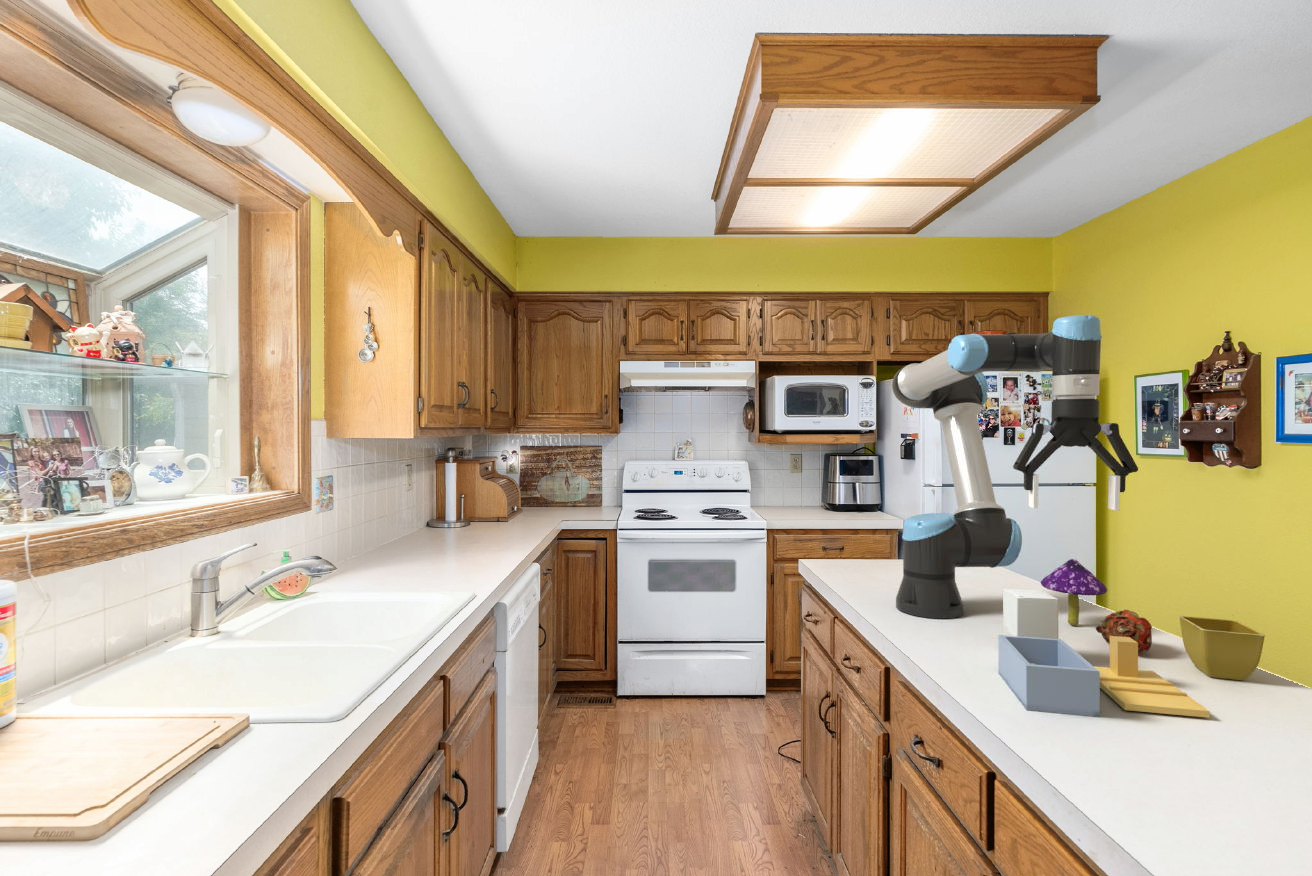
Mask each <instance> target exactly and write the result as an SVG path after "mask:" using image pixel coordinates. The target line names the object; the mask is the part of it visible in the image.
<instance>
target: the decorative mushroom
mask: <svg viewBox="0 0 1312 876" xmlns="http://www.w3.org/2000/svg"><path fill="white" fill-rule="evenodd" d="M1040 584H1041V586H1042V587H1043V588H1045V589H1047V590H1051V591H1053V592H1058V593H1063V594H1067V599H1068V600H1067V602H1068V614H1067V623H1068V624H1069V625H1070V626H1074V627H1075V626H1076V627H1077V626H1078V625H1079V623H1080V622H1079V621H1080V620H1079V619H1080V618H1079V617H1080V599H1079V596H1100V595H1101V596H1102V595H1104V594H1106V593H1107V592H1108V588H1107V587H1106V585H1105V584H1104V583H1103V582H1102V581H1100V580H1099V579H1098V578H1097V577H1096V576H1095V575H1094V574H1093V573H1092V572H1091V571H1090V570H1089V569H1088V568H1086V567H1085V566H1083V564H1082V563H1080V561H1078V560H1077V559H1075V558H1074V559H1073V558H1070V559H1068V560H1067V561H1065V562H1064V563H1063V564H1061V565H1060V566H1059V567H1057V568H1055V569H1054V570H1053V571H1052V572H1051V573H1050V574H1048V575H1046V576H1044V577H1043V579H1042V580H1041V581H1040Z"/></svg>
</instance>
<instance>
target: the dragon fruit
mask: <svg viewBox="0 0 1312 876" xmlns="http://www.w3.org/2000/svg"><path fill="white" fill-rule="evenodd" d="M1100 622H1101V623H1100V624H1098V625H1096V627H1095V630H1096V632H1098V634H1101V636H1102V638H1103V640H1104V641H1105V642H1106V643H1107V644H1108V645H1109V646H1110V636H1119V637H1130V638H1131V639H1133V640H1134V641H1136V642H1137V643H1138V651H1140V652H1144V651H1145V652H1148V651H1149V650H1150V649H1151V646H1152V643H1153V642H1152V641H1153V639H1152V638H1153V637H1152V636H1153V634H1152V628H1153V626H1152V624H1151V623H1150V621H1148V619H1146V618H1145V617H1141V616H1139V614H1138V613H1137V612H1135V611H1132V610H1129V609H1123V610H1117V611H1115V612H1112V613H1110V614H1108V615H1106V616H1105V618H1104V619H1103V620H1102V621H1100Z"/></svg>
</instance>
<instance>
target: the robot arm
mask: <svg viewBox="0 0 1312 876" xmlns="http://www.w3.org/2000/svg"><path fill="white" fill-rule="evenodd" d="M1052 325H1053V326H1052V330H1051V332H1044V333H1014V334H1013V333H1012V334H1011V333H1009V334H1008V333H1007V334H1006V333H1004V334H1002V333H999V334H998V333H997V334H995V333H994V334H989V333H987V334H986V333H985V334H983V333H981V334H979V333H978V334H977V333H969V334H960V335H956V336H954V338H952V339H951V342H950V343H949V344H948V347H947V349H946V350H944V351H941V353H939V354H936V355H934V356H933V357H931V358H928V359H926V360H924V361H922V362H920V363H918V362H917V363H910V364H908V365H905V366H903V367H902V368H901V369H898V371H897V372H896V373H895V375H894V376H893V379H892V383H891V388H892V392H893V394H894V397H896V399H897V400H898V401H899V402H900V403H902V404H904V405H905V406H908V407H910V408H913V409H932V411H933V416H934V418H935V419H936V420H938V421H939V422H941V426H942V431H943V436H944V443H945V445H946V452H947V456H948V462H949V463H948V464H949V467H950V473H951V477H952V482H953V488H954V493H955V497H956V504H957V509H956V510H955V511H954V513H948V512H947V513H946V512H931V513H921V514H915V515H913V516H910V517H907V518H906V519H905V520H904V522H903V528H902V529H903V530H902V535H901V538H902V562H903V564H902V565H903V566H902V568H903V569H902V570H903V571H902V572H903V573H902V575H903V576H902V580H901V582H900V585H899V587H898V590H897V594H896V597H895V608H896V609H897V610H898V611H901V612H902V613H905V614H908V615H911V616H916V617H921V618H928V619H955V618H958V617H961V616H963V615H964V603H963V600H962V597H961V594H960V592H959V588H958V586H957V583H956V568H990V569H991V568H997V567H1008V566H1011V565H1013V564H1014V563H1015V562H1016V561H1017V559H1018V558H1019V555H1020V553H1021V550H1022V546H1023V545H1022V544H1023V535H1022V531H1021V528H1020V525H1019V524H1018V523H1017V521H1016V520H1015V519H1012V518H1010V517H1007V515H1006V510H1005V508H1004V507H1002V506H1001V505H1000V504H997V502H996V497H995V492H994V488H993V484H992V483H993V482H992V479H991V478H992V477H991V475H990V474H991V473H990V468H989V464H988V460H987V456H986V451H985V447H984V442H983V437H982V433H981V428H980V424H979V418H978V415H979V414H980V413H981V412H982V409H983V406H984V405H985V404H986V403H987V400H988V396H989V395H988V393H987V392H988V391H989V387H988V382H987V379H986V377H985V374H984V372H996V371H997V372H998V371H1000V372H1001V371H1002V372H1003V371H1007V372H1010V371H1013V372H1015V371H1017V372H1018V371H1019V372H1020V371H1021V372H1028V373H1033V372H1036V373H1038V372H1039V373H1040V372H1043V371H1049V370H1052V371H1051V372H1052V373H1051V374H1052V375H1051V376H1052V377H1051V379H1052V380H1051V381H1052V382H1051V396H1052V397H1054V399H1052V401H1051V412H1050V413H1051V414H1050V415H1051V417H1050V418H1051V421H1050V423H1049V424H1043V423H1039V422H1035V423H1033V424H1032V427H1031V434H1030V436H1029V438H1028V440H1027V441H1026V443H1025V445H1024V446H1023V448H1022V449H1021V451H1020V453H1019V455H1018V457H1017V459H1016V460H1015V462H1014V463H1013V465H1012V468H1013V469H1014V470H1016V471H1019V472H1021V473H1022V474H1023V488H1024V490H1025V491H1028V507H1029V508H1031V509H1039V478H1040V475H1039V474H1038V473H1037V474H1036V473H1035V472H1037V470H1038V469H1039V468H1040V467H1041V466H1043V464H1045V462H1046V461H1047V460H1049V459H1050V457H1051V456H1052V455H1053V454H1054V453H1055V452H1056V451H1057V450H1058V449H1060V448H1061V447H1067V448H1069V447H1071V448H1072V447H1079V448H1081V447H1082V448H1086V447H1088V448H1089V449H1091V450H1092V452H1094V453H1095V454H1096V456H1097V457H1098V458H1099V459H1100V460H1101V461H1102V462H1103V463H1104V464H1105V466H1107V467H1108V468H1109V469H1110V471H1112V473H1114V474H1108V489H1107V490H1108V492H1107V493H1108V494H1107V496H1108V499H1107V508H1108V509H1109V510H1113V511H1120V507H1121V506H1120V505H1121V504H1120V503H1121V501H1120V499H1121V498H1120V497H1121V495H1120V494H1121V493H1125V491H1126V477H1127V476H1129V475H1130V474H1131V473H1137V472H1138V471H1139V467H1138V465H1137V464H1136V462H1135V460H1134V458H1133V456H1132V454H1131V453H1130V451H1129V449H1128V447H1127V445H1126V443H1125V442H1124V439H1122V436H1121V434H1120V426H1119V424H1118V423H1117V422H1107V423H1104V424H1101V423H1100V421H1099V419H1100V400H1099V399H1098V398H1096V397H1097V396H1099V395H1100V382H1101V381H1100V380H1101V379H1100V378H1101V377H1100V376H1101V374H1100V370H1101V347H1102V334H1101V331H1102V330H1101V320H1100V318H1099V317H1098V316H1096V315H1089V314H1083V315H1082V314H1081V315H1068V316H1062V317H1058V318H1056V320H1054V321H1053V324H1052ZM1047 432H1049V434H1050V435H1052V438H1050V440H1049V441H1047V443H1046V445H1045V446H1044V447H1043V448H1042V449H1041V450H1040V451H1039V452H1038V453H1037V454H1036V455H1035V456H1034V457H1033V458H1032V456H1033V453H1034V452H1035V450H1036V449H1037V447H1038V445H1039V443H1040V442H1041V440H1042V439H1043V436H1045V435H1046V434H1047ZM1100 432H1102V434H1103V435H1105V436H1106V438H1107V439H1108V442H1109V443H1110V445H1111V447H1112V449H1113V451H1114V453H1115V455H1116V456H1117V458H1118V460H1119V461H1118V460H1117V459H1116V458H1115V457H1114V456H1113V455H1112V454H1111V453H1110V452H1109V450H1108V449H1107V448H1106V447H1105V446H1104V445H1103V443H1102V442H1101V441H1100V440H1099V439H1098V438H1097V436H1098V435H1099V434H1100ZM1031 458H1032V459H1031ZM1030 459H1031V460H1030ZM1029 460H1030V461H1029Z"/></svg>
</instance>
